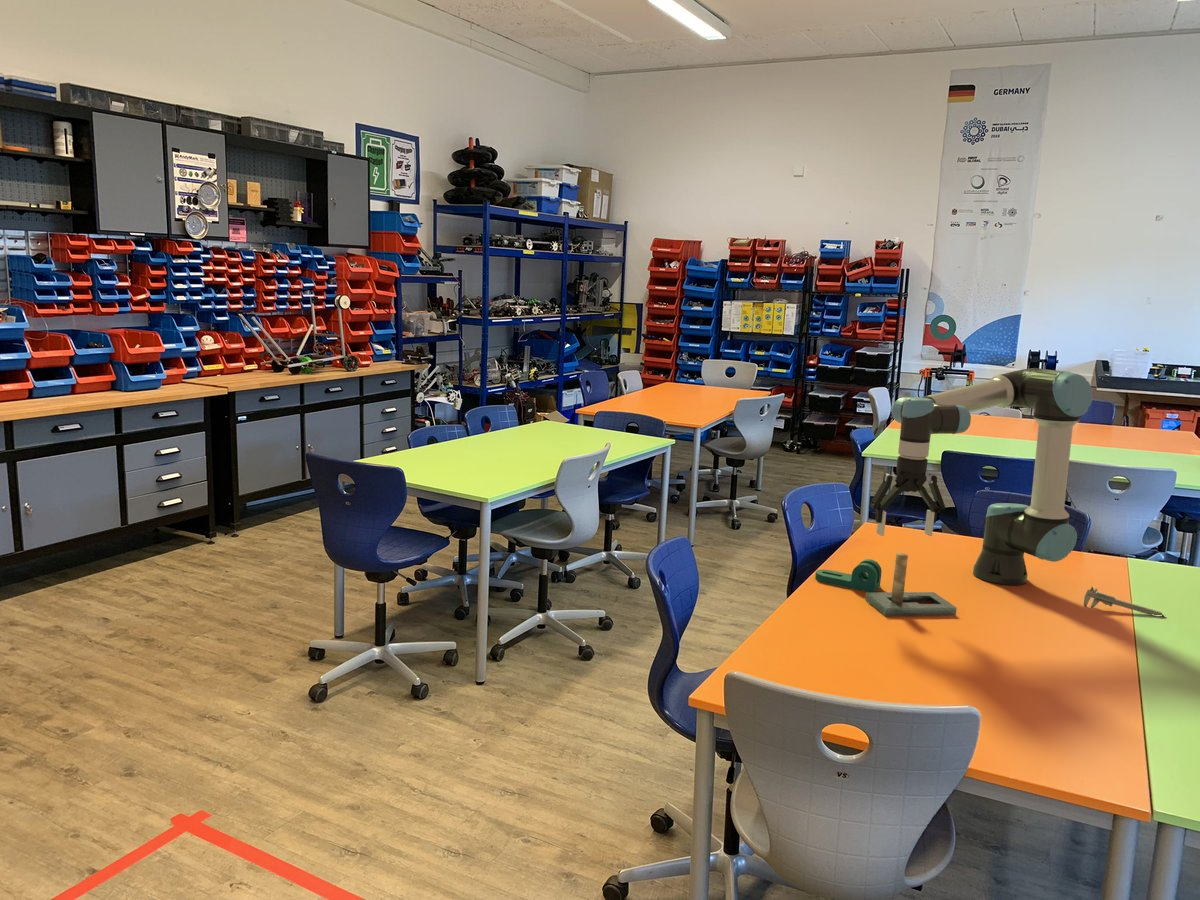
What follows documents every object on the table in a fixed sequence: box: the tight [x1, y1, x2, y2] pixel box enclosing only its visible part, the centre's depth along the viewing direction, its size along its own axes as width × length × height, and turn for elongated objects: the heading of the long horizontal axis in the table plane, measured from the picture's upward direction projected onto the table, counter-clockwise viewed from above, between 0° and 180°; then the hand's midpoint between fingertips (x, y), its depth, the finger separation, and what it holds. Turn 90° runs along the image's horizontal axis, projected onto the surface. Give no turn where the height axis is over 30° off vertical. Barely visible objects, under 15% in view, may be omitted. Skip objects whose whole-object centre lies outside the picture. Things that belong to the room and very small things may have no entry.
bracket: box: [814, 558, 883, 592], centre depth 255 cm, size 18×7×8 cm, turn 59°
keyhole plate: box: [865, 591, 957, 617], centre depth 238 cm, size 20×12×2 cm, turn 98°
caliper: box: [1083, 586, 1165, 616], centre depth 242 cm, size 20×1×6 cm, turn 73°
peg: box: [891, 552, 909, 603], centre depth 236 cm, size 5×5×15 cm
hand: (904, 534), depth 234 cm, fingers open, 13 cm apart
